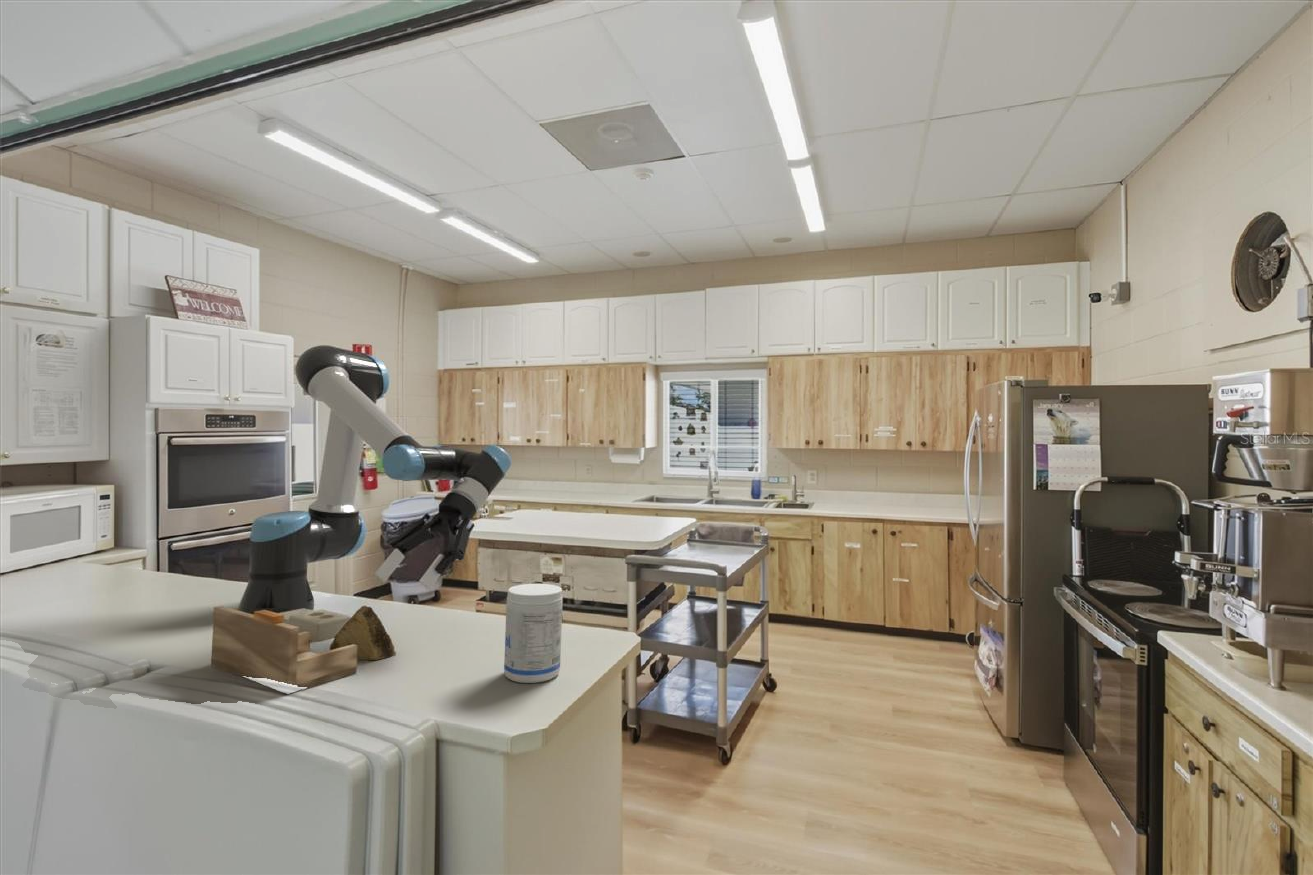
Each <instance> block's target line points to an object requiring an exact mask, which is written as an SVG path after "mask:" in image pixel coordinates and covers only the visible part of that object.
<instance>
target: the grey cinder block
mask: <svg viewBox="0 0 1313 875" xmlns="http://www.w3.org/2000/svg"><path fill="white" fill-rule="evenodd" d="M279 614H282V615H284V623H285V624H289V625H292V626H296V627H299V632H298V633H301V632H305V631H308V632H310V641H312V642H316V643H317V642H322V641H327V640H329V639H334V637H335V635H336V634H337V633H338V632H339V631H340V630H341V629H342V627H343V626H344V625H345V624H346V623H347V622H348V621H349V619H350V618H351V617H352V616H350V615H348V614H343V613H339V612H335V611H332V610H328V609H323V608H321V609H317V610H314V609H313V610H309V609H305V608H303V609H297V610H292V611H287V612H282V613H279Z"/></svg>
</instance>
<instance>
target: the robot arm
mask: <svg viewBox="0 0 1313 875" xmlns="http://www.w3.org/2000/svg"><path fill="white" fill-rule="evenodd" d="M295 376H296V380H297V382H298V384H299V385H300V387H301V388H302V389H303V391H305V392H306V394H308V396H310V398H312V399H313V400H315V401H316V402H323V404H325V405H326V406H327V407H328V408H329V409H330V412H329V419H328V424H327V425H328V426H327V432H326V438H325V439H326V440H325V444H324V445H325V446H324V451H323V457H322V458H323V459H322V463H321V464H322V465H321V471H320V475H319V476H320V478H319V484H318V490H317V496H316V497H317V498H316V500H315V501H313V502H312V503H310V504H309V506H308V509H307V510H308V511H307V510H289V511H279V512H274V513H273V512H272V513H268V514H264V515H261V516H259V517H256V518H255V519H254V521H253V522H252V524H251V531H250V536H249V540H250V548H249V549H250V550H249V567H248V568H249V569H248V570H249V571H248V582H247V585H246V587H245V590H244V592H243V595H242V596H241V599H240V601H239V604H238V606H237V610H238V611H242V612H246V613H249V614H253V615H254V612H255V611H261V610H267V611H271V612H275V613H282V612H287V611H292V610H297V609H303V608H305V609H309V610H313V611H314V608H315V599H314V595H313V592H312V588H311V585H310V582H309V581H308V564H309V563H315V562H323V561H329V560H339V559H341V558H342V559H343V558H344V557H348V556H351V555H353V554H355V553H356V552H358V551H359V549H360V548H361V547H362V546H363V544H364V541H365V539H366V536H367V526H366V525H367V524H365V519H364V518H363V517H362V516H361V514H359V513H360V508H359V506H358V505H356V504H355V499H356V492H357V487H358V486H357V485H358V480H359V479H358V478H359V472H360V467H361V460H362V454H363V447H364V442H365V443H366V444H367V445H368V446H369V447H370V448H371V449H373V451H374V452H375V453H377V454H378V456H380V458H382V459H381V465H382V467H383V470H384V473H385V475H386V476H387V477H388V478H390V479H391V480H394V481H395V480H397V481H404V482H411V481H425V480H426V481H435V480H436V481H438V480H439V481H441V480H444V481H445V480H451V481H456V483H455V485H454V486H453V487H452V488H451V489H450V490H449V492H448V493H447V494H445V496H444V497H443V499H442V500H441V501H440V502H439V504H438V513H437V514H436V515H434V516H431V515H430V514H429V513H426V514H424V515H423V516H422V517H421V518H420V519H419V520H418V521H417V522H415V523H414V524H413V525H412V526H410V527H408V529H406V531H405V530H404V531H403V533H401V534H399V536H397V537H396V538H395V539H393V540H392V541H391V542H390V543H389V545H390V547H391V548H393V550H392V551H391V552H390V553H389V555H387V557H386V558H385V559H384V561H383V563H382V564H381V565H380V566H379V568H378V569H377V570H376V572H374V575H375V576H376V578H378V579H379V580H380V581H381V582H383V583H386V581H387V580H388V579H389V578H390V577H391V575H392V574H393V573H394V571H395V570H396V569H397V567H399V565H400V564H401V563H402V562H403V561H404V559H405V557H406V555H405V554H407V553H408V552H410V551H412V550H413V549H415V548H416V547H418V546H420V545H422V544H423V543H426V542H427V541H428V540H433V539H436V538H442V539H443V550H442V551H441V553H442V554H441V553H438V555H437V557H436V558H435V559H434V560H433V562H432V563H431V564H430V566H429V568H427V570H426V571H425V573H423V575H422V576H421V578H420V579H419V581H418V582H419V583H420V585H422V586H423V588H425V589H426V590H427V591H430V590H431V589H432V587H433V586H434V585H435V584H436V582H437V581H438V579H439V578H440V576H441V575H443V574H444V573H445V571H446V570H447V569H448V567H449V566H450V565H451V563H453V562H455V561H456V560H458V561H462V560H463V559H464V558H465V553H466V550H467V546H468V543H469V539H470V535H471V532H472V531H473V529H474V527H475V526H476V525H475V524H474V522H473V521H472V519H474V517H475V516H476V514H477V512H479V511H480V509H481V508H482V506H483V505H484V504H485V502H486V501H487V500H488V498H489V497H490V495H491V494H492V493H493V491H494V490H495V488H496V487H497V486H498V485H499V484H500V482H501V481H502V480H503V479H504V478H505V476H506V473H507V472H508V471H509V469H510V468H511V466H512V459H511V458H510V455H509V454H508V452H507V451H506V450H505V449H503V448H502V447H501V446H497V445H495V444H494V445H493V444H490V445H487V446H485V447H484V448H483V449H481V452H478V451H470V450H466V449H465V450H464V449H461V448H457V447H452V446H450V445H441V444H436V445H434V446H425V445H421V444H420V443H419V442H418V441H416V440H415V439H414V438H413V437H412V436H410V435H409V434H408V433H407V432H406V431H405V430H404V429H403V428H402V427H401V426H400V425H399V424H398V423H397V422H396V421H395V420H393V418H391V416H389V415H388V414H387V413H386V412H385V411H383V409H382V408H381V407H379V406H378V405H377V401H378V400H379V399H381V398H383V397H384V395H385V394H387V392H388V390H389V387H390V375H389V370H388V368H387V367H386V366H385V363H384V362H383V361H382V360H381V359H380V358H378V357H376V356H373V355H371V354H367V353H364V352H358V351H354V350H349V349H345V348H340V347H336V346H332V345H326V344H323V345H322V344H321V345H317V346H312V347H310V348H308V349H306V350H305V351H304V352H303V353H302V354H301V355H300V356H299V357H298V359H297V361H296V364H295Z"/></svg>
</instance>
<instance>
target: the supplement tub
mask: <svg viewBox="0 0 1313 875" xmlns="http://www.w3.org/2000/svg"><path fill="white" fill-rule="evenodd" d="M506 596H507V597H506V604H505V605H506V607H505V610H506V611H505V630H504V631H505V632H504V633H505V635H504V636H505V638H504V660H503V661H504V664H503V666H504V667H503V672H504V673H503V674H504V675H505V677H506V678H507V679H508V680H511V681H513V682H516V683H521V684H537V683H543V682H546V681H547V682H548V681H550V680H552V679H554V678H555V677H556V676H558V674H559V673H560V670H561V657H562V656H561V655H562V654H561V652H562V650H561V649H562V625H563V588H561V586H558V585H556V584H550V583H523V584H517V585H514V586H511V587H509V588H508V589H507V595H506Z"/></svg>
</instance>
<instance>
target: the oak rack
mask: <svg viewBox="0 0 1313 875" xmlns="http://www.w3.org/2000/svg"><path fill="white" fill-rule="evenodd" d="M212 620H213V622H212V639H211V641H212V642H211V655H210V657H211V659H210V660H211V661H210V666H212V667H215V668H218V669H220V670H222V671H225V672H228V673H230V674H234V675H236V676H238V677H241V676H246V677H252V678H267V679H271V680H275V681H278V682H284V683H287V684H292V685H297V686H298V687H307V688H308V689H312V688H314V687H317V686H320V685H325V684H327V683H330V682H333V681H337V680H340V679H342V678H346V677H349V676H353V675H356V674H357V665H358V663H357V662H358V659H357V645H354V644H352V645H348V646H345V647H341V648H337V649H333V650H330V649H329V650H327V651H323V652H318V653H315V652H312V651H311V650H310V648H311V647H310V646H311V640H310V632H308V631H305V632H301V633H298V632H299V627H296V626H292V625H289V624H285V623H284V615H282V614H279V613H275V612H271V611H267V610H261V611H255V612H254V615H253V614H249V613H246V612H242V611H238V609H235V608H231V607H227V606H223V605H220V606H214V607H213V619H212Z"/></svg>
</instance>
